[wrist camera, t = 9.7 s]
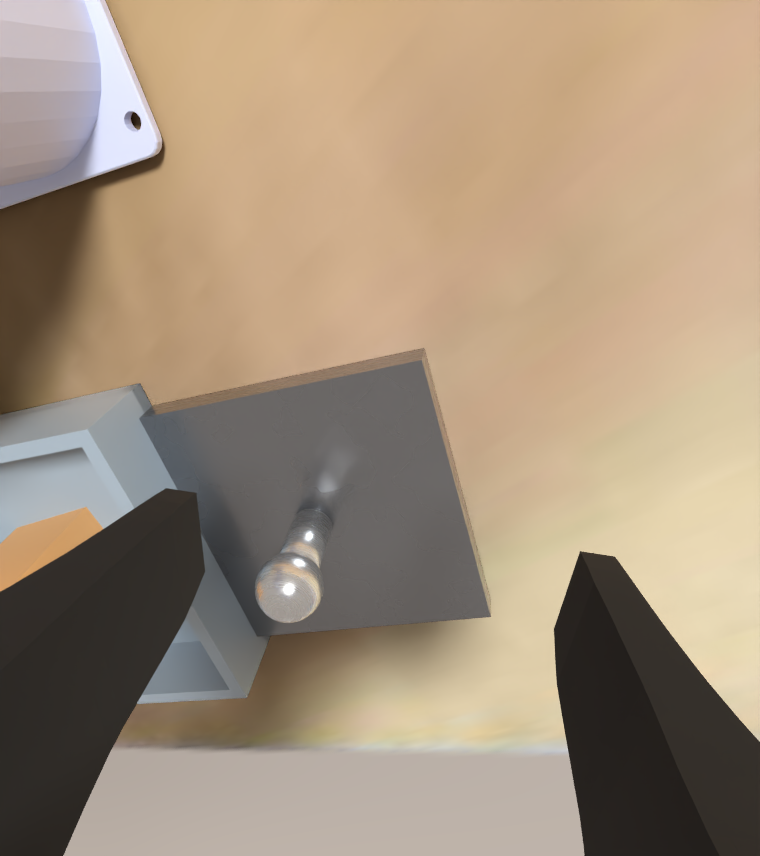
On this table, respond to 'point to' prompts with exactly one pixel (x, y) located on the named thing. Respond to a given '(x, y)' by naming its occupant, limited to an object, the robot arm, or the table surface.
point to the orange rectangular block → (43, 543)
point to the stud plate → (329, 497)
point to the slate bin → (110, 500)
